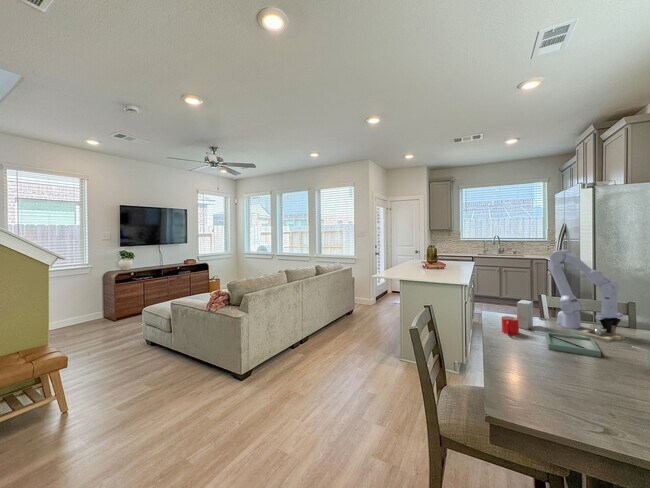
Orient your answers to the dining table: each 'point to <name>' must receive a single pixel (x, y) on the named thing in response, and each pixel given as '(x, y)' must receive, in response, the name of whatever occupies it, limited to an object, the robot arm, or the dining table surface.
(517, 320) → the mug
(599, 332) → the stake
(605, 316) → the robot arm
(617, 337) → the tan wooden square frame
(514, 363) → the dining table surface
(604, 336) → the stake board
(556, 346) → the tray
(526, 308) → the skincare box
